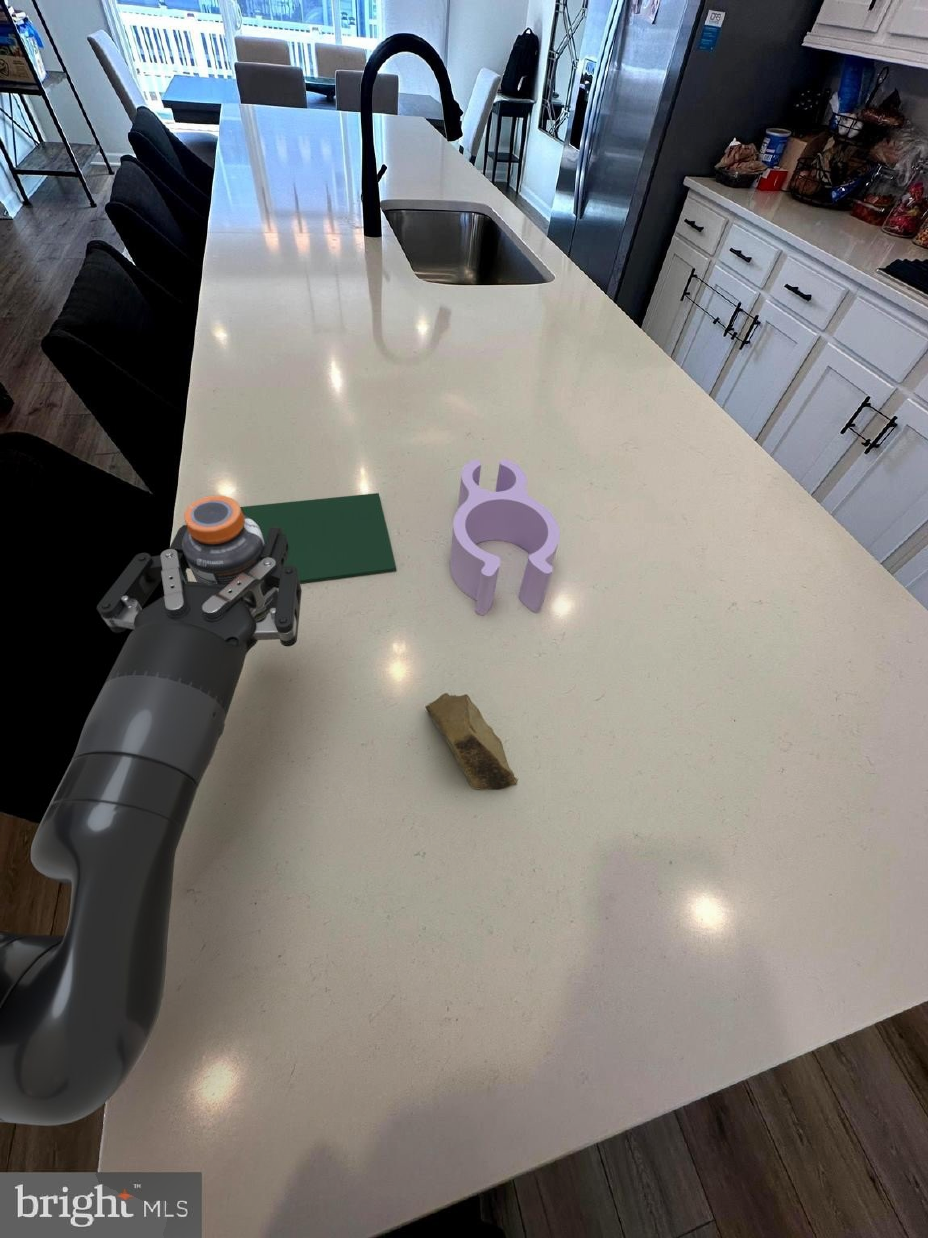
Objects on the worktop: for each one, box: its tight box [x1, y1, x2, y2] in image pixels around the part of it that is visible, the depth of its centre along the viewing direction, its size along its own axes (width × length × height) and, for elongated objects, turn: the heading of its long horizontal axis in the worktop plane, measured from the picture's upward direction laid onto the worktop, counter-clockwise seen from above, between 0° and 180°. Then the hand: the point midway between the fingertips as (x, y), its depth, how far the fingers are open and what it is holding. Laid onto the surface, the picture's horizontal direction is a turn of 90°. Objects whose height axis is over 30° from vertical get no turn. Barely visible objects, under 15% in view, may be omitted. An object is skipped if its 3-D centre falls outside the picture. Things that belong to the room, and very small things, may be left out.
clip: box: [449, 458, 561, 616], centre depth 69 cm, size 20×12×7 cm, turn 8°
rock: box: [424, 692, 518, 791], centre depth 53 cm, size 11×9×10 cm
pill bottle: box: [182, 494, 279, 623], centre depth 45 cm, size 6×6×11 cm
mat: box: [240, 492, 397, 585], centre depth 70 cm, size 20×14×1 cm
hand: (238, 531), depth 46 cm, fingers closed on pill bottle, 6 cm apart
